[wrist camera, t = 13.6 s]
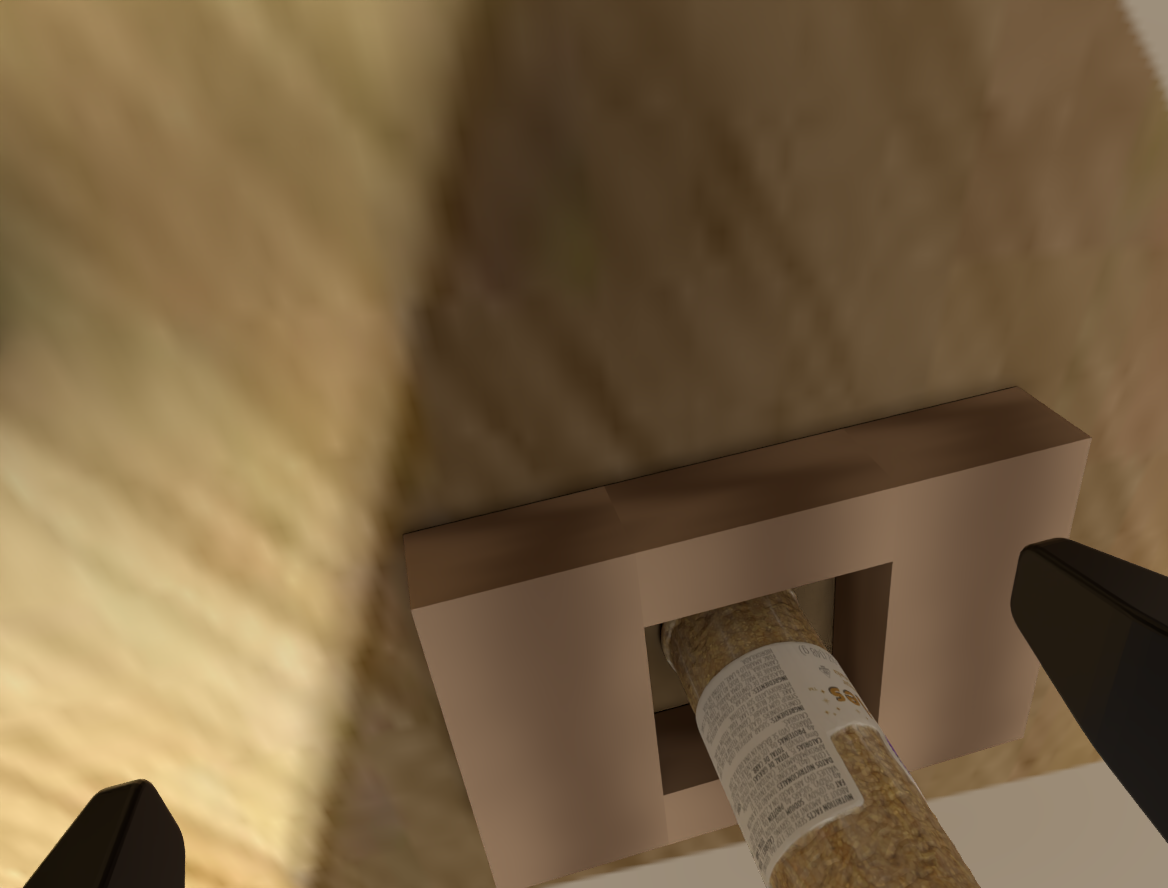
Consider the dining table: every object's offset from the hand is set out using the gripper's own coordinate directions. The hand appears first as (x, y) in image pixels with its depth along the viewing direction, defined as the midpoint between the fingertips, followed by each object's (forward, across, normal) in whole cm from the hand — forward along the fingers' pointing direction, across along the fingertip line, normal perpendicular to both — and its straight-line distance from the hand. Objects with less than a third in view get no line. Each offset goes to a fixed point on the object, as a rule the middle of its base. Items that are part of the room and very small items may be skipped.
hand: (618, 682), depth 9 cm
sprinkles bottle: (+13, -6, +13) cm, 19 cm away
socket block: (+13, -6, +13) cm, 19 cm away
